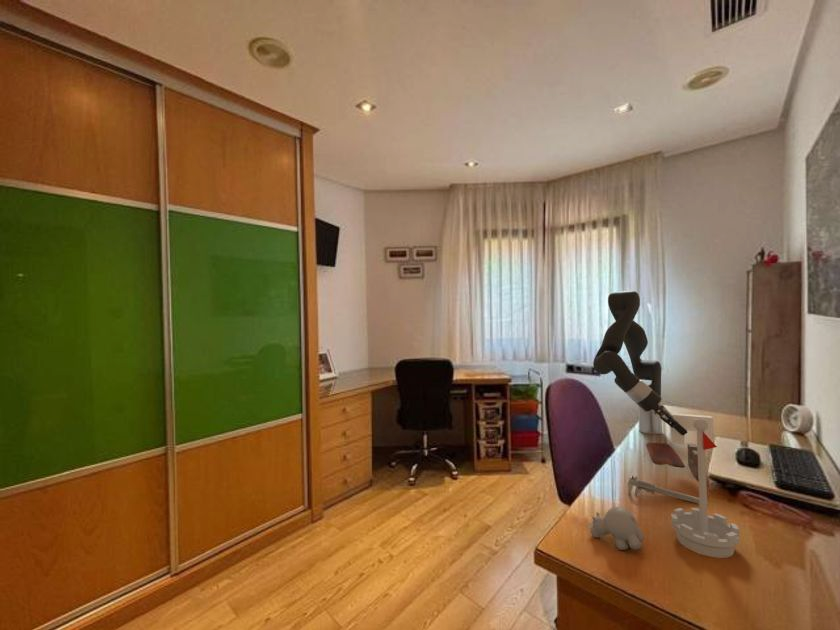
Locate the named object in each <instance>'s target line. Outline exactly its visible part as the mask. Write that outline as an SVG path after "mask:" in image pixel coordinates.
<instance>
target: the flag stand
mask: <svg viewBox="0 0 840 630" xmlns="http://www.w3.org/2000/svg"><path fill="white" fill-rule="evenodd" d="M693 426H694V427H695V429H697V431H696V442H697V444H696V445H697V451H698V498H699V504H698V505H699V508H696V507H690V511H685V509H683V508H681V507H679V508H678V507H677V508H675V509H673V513H670V514H671V516H670V517H671V519H670V520H671V522H670V523H671V526H672V528H673V529H674V530H675V532H676V538H677V540H678V543H680V544H681V545H682V546H683V547H685V548H687V549H689V550H691V551H692V552H695V553H696V554H700V555H703V556H707V557H709V558H710V557H712V558H720V559H721V558H722V559H723V558H725V559H726V558H730V557H732V556H733V555H734V554H735V546H737V545H738V544H739V543H740V528H739V527H738V524H736V523H731V522H730V523H728V520H727V519H728V517H725V516H724V515H721V514H719V513H716V512H715V513H713V516H711V515H708V505H707V503H708V491H707V488H708V487H707V464H706V463H707V462H706V450H711V449H714V448H717V447H718V446H717V445H716V444H715V442H714V443H713V442H712V441H711V440H710V439H709V438H708V437H707V435H706V434H705V430H706V429H707V428H708V423H707V422H706V421H705V420H704V419H701V418H697V419H695V420H694V421H693Z"/></svg>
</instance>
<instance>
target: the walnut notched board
mask: <svg viewBox="0 0 840 630" xmlns="http://www.w3.org/2000/svg"><path fill="white" fill-rule="evenodd" d="M687 465H688V467H689V469H690V471H691V473H692V474H693V476H694V478H695V479H698V451H697V444H696V443H690V442H688V443H687Z"/></svg>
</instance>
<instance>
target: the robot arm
mask: <svg viewBox="0 0 840 630" xmlns="http://www.w3.org/2000/svg"><path fill="white" fill-rule="evenodd" d="M607 305H608V309H609V311H610V313H611V314H612V315H611V316H613V317H612V318H613V319H614V322H613V323H612V324H611V325H610V326H609V327H608V328H607V329H606V331H605V333H604V336H603V340H602V343H601V345H600V347H599V349H598V351H597V353H596V354H595V357H594V358H593V361H592V363H593V364H592V365H593V369H594V370H595V372H597V373H598V374H599V375H607V374H609V373H611V372H612V373H613V374H614V376H615V378H614V384H615V385H616V386H617V387H619V388H620V389H621V390H622V391H623V392H624V393H626V395H627V396H628V397H629V399H631V400H632V401H633V402H634V403H635V404H636V405H637V406H638V430H639V432H641V433H643V434H648V435H662V434H663V422H664V424H667V425H668V426H669V428H670V427H672V428H674V429H676V430H677V431H678V432H679V433H680V434H681V435H684V436H685V435H686V434H687V433H688V430H685V429H684V428H683V427H682V426H681V425H680V424H679V423H678V422H677V421H676V420H675V419H674V417H673V416H672V415H671V414H670V413H671V411H669V410H668V409H667V408H666V407H665V406H664V405H663V404H662V399H663V398H662V365H661V363H660V362H659V361H658V360H647V359H646V360H645V359H641V357H642V354H643V353H644V351H645V350H646V349H647V347H648V345H649V344H648V343H649V342H648V341H649V340H648V337H647V334H646V331H645V329H644V328H643V327H642V326H641V325H640V324H639V323H638V322H637V321H635V320H634V319H635V317H636V315H637V313H638V312H639V309H640V306H641V297H640V295H639V293H638V292H637V291H634V290H625V291H614V292H611V293H609V295H608V297H607ZM623 344H624V346H625V348H626V351H627V353H628V356H629V359H630V365H631V367H632V370H630V368H629V366H628V365H627V364H626V362H625V361H624V360H623V358H622V357H621V356H620V355H619V353H620V352H621V351H622V347H623ZM632 371H633V372H632ZM644 381H651V383H650V384H647V383H645V382H644ZM672 421H674V422H673V423H670V422H672Z"/></svg>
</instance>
